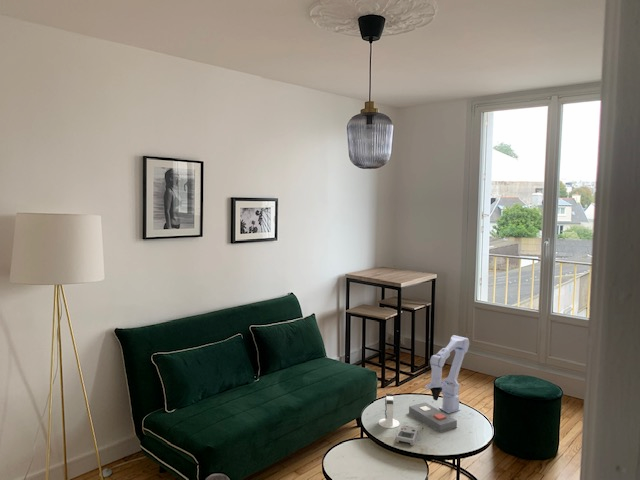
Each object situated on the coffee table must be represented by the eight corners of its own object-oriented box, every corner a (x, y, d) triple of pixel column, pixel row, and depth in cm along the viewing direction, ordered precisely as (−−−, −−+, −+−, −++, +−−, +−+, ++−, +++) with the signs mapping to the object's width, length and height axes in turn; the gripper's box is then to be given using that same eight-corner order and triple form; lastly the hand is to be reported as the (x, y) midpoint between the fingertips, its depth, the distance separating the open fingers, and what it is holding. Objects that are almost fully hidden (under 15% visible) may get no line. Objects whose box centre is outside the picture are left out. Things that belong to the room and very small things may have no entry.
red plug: (433, 421, 270) (433, 414, 269) (439, 420, 272) (440, 413, 272) (439, 425, 265) (439, 418, 265) (445, 423, 268) (446, 416, 267)
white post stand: (378, 417, 276) (379, 392, 275) (398, 418, 275) (399, 393, 274) (379, 427, 264) (379, 400, 263) (400, 428, 263) (400, 402, 262)
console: (408, 412, 283) (409, 406, 282) (424, 408, 288) (425, 402, 288) (439, 432, 260) (440, 425, 259) (456, 427, 266) (456, 420, 265)
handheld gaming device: (418, 434, 258) (418, 427, 258) (413, 447, 245) (413, 439, 244) (401, 431, 262) (401, 424, 261) (395, 443, 248) (395, 436, 248)
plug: (419, 414, 280) (419, 407, 280) (425, 412, 282) (425, 405, 282) (424, 417, 276) (424, 410, 276) (431, 415, 278) (431, 409, 278)
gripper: (441, 372, 282) (440, 395, 283) (421, 376, 275) (420, 399, 277) (449, 376, 276) (448, 399, 277) (430, 380, 269) (429, 403, 270)
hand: (435, 399), depth 276 cm, fingers closed
